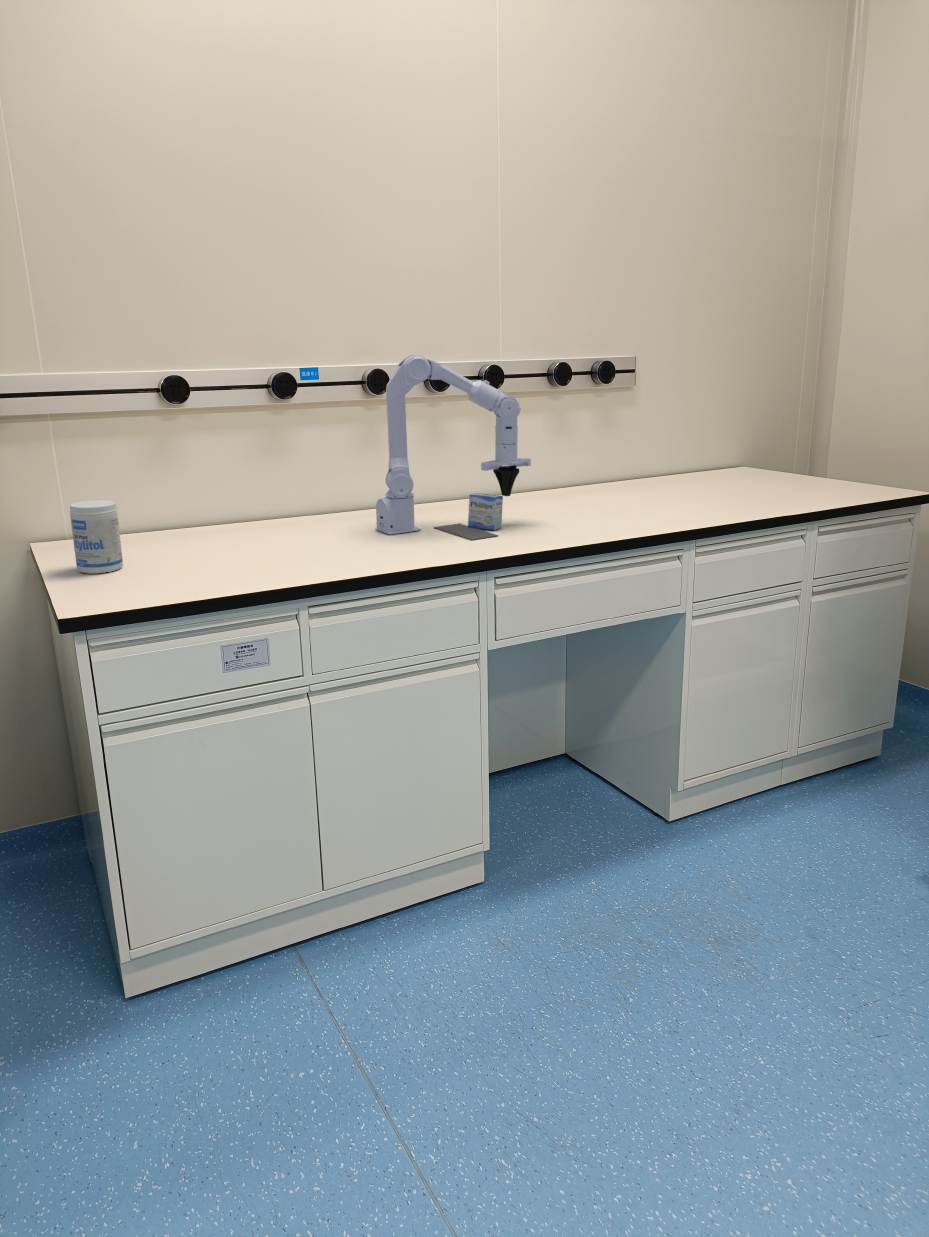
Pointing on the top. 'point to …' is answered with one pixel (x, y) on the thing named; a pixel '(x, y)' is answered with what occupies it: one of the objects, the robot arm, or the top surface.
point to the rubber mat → (466, 531)
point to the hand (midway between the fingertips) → (506, 495)
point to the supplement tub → (96, 536)
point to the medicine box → (485, 511)
